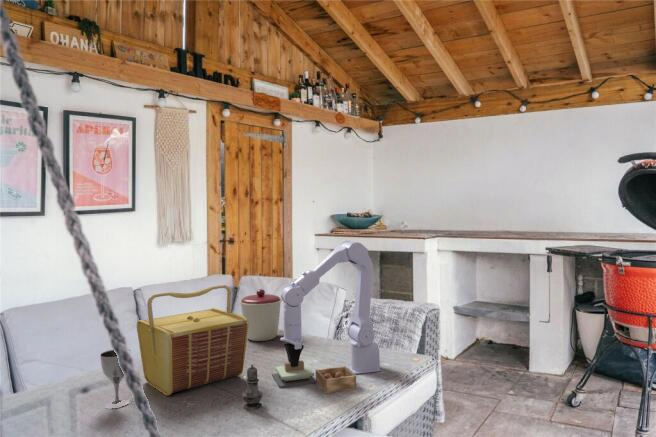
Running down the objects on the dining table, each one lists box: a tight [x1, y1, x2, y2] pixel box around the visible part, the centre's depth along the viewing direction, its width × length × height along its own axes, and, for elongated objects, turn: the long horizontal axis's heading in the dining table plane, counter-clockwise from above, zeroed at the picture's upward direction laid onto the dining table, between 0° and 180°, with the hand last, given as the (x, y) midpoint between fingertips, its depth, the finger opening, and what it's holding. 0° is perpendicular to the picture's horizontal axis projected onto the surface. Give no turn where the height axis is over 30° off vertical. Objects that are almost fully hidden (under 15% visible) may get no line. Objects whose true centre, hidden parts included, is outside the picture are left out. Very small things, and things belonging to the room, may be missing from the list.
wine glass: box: [100, 349, 131, 404], centre depth 144 cm, size 8×8×15 cm
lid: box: [274, 359, 315, 381], centre depth 162 cm, size 10×10×4 cm
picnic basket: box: [136, 284, 248, 396], centre depth 163 cm, size 29×26×30 cm
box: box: [315, 365, 357, 394], centre depth 156 cm, size 10×10×4 cm
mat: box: [271, 372, 317, 389], centre depth 162 cm, size 12×12×1 cm
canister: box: [239, 288, 283, 342], centre depth 213 cm, size 18×18×21 cm
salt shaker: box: [241, 364, 264, 411], centre depth 141 cm, size 6×6×12 cm
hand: (293, 365), depth 162 cm, fingers closed on lid, 2 cm apart
